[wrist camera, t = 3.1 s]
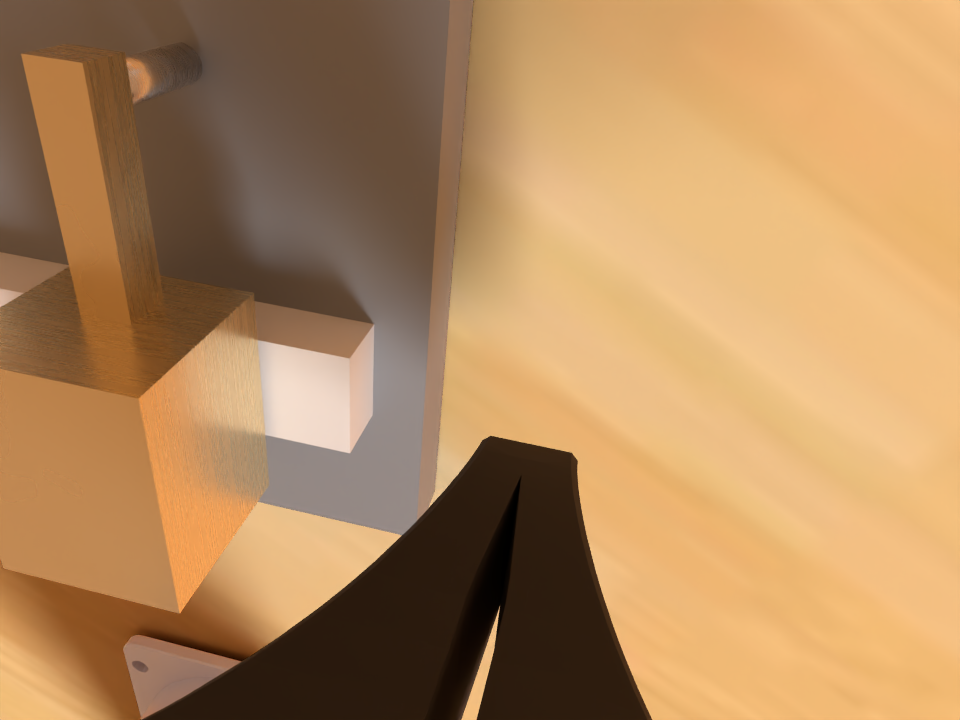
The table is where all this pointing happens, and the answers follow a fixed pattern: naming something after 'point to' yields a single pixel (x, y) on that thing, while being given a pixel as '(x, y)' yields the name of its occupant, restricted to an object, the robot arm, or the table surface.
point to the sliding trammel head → (121, 362)
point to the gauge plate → (288, 212)
